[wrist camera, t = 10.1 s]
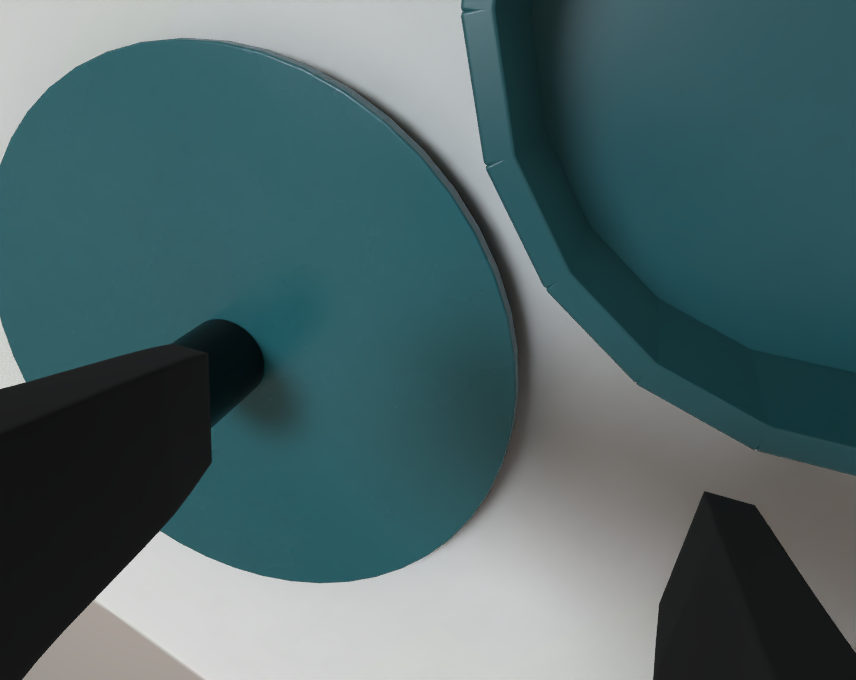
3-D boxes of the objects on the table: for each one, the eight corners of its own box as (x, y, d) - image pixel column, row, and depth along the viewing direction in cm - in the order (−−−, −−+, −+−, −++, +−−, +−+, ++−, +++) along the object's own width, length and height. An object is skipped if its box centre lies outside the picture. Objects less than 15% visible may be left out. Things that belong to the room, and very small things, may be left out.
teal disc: (475, 622, 22) (430, 769, 18) (57, 482, 26) (-65, 576, 22) (585, 91, 15) (552, 121, 10) (-29, -1, 18) (-246, -9, 14)
